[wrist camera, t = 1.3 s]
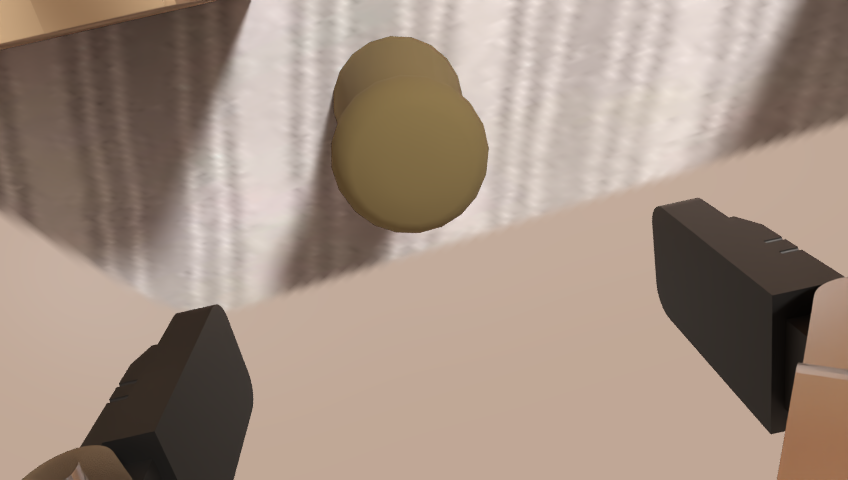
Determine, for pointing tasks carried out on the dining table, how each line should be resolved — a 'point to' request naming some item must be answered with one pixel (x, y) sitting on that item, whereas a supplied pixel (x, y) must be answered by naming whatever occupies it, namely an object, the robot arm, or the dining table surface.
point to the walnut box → (73, 16)
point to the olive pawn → (405, 137)
